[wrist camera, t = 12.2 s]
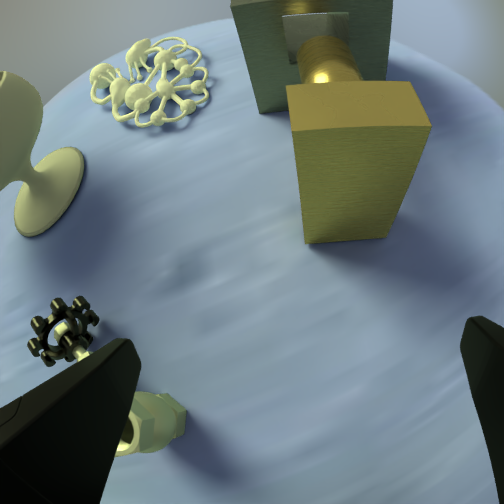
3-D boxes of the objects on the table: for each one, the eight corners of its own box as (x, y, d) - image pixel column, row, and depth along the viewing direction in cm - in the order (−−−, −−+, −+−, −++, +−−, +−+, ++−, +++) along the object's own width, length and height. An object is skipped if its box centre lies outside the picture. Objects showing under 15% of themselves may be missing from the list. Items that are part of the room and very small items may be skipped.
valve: (212, 403, 20) (105, 305, 24) (173, 413, 14) (53, 282, 18) (163, 464, 19) (68, 362, 23) (114, 487, 13) (13, 353, 17)
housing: (381, 105, 26) (393, -2, 15) (259, 113, 28) (230, 6, 17) (357, 51, 30) (357, -37, 19) (257, 58, 32) (234, -28, 21)
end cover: (386, 237, 22) (432, 126, 11) (304, 244, 23) (291, 131, 12) (359, 125, 26) (366, 11, 15) (293, 129, 27) (274, 15, 16)
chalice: (102, 128, 33) (34, 40, 19) (80, 232, 28) (-32, 147, 14) (27, 162, 35) (-39, 100, 21) (3, 254, 30) (-88, 200, 16)
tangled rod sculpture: (248, 93, 32) (243, 63, 28) (134, 162, 30) (117, 136, 26) (172, 44, 39) (165, 22, 35) (88, 93, 37) (76, 73, 33)
